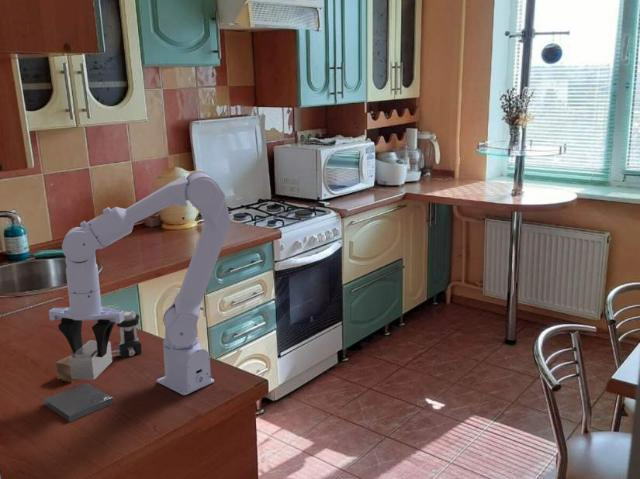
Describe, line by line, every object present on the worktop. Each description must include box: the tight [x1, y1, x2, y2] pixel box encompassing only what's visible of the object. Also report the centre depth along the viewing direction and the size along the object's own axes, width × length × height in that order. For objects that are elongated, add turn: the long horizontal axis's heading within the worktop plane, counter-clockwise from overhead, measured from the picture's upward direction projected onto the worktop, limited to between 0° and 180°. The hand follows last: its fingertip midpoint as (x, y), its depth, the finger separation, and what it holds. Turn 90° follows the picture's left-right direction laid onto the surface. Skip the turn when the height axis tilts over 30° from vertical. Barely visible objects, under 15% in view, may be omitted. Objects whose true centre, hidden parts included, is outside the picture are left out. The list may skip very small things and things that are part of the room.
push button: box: [111, 310, 143, 358], centre depth 139 cm, size 7×5×10 cm
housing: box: [70, 339, 113, 381], centre depth 121 cm, size 8×4×5 cm, turn 173°
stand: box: [43, 382, 114, 423], centre depth 118 cm, size 10×9×1 cm
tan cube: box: [55, 354, 78, 383], centre depth 129 cm, size 4×4×4 cm
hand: (90, 354), depth 120 cm, fingers closed on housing, 4 cm apart
